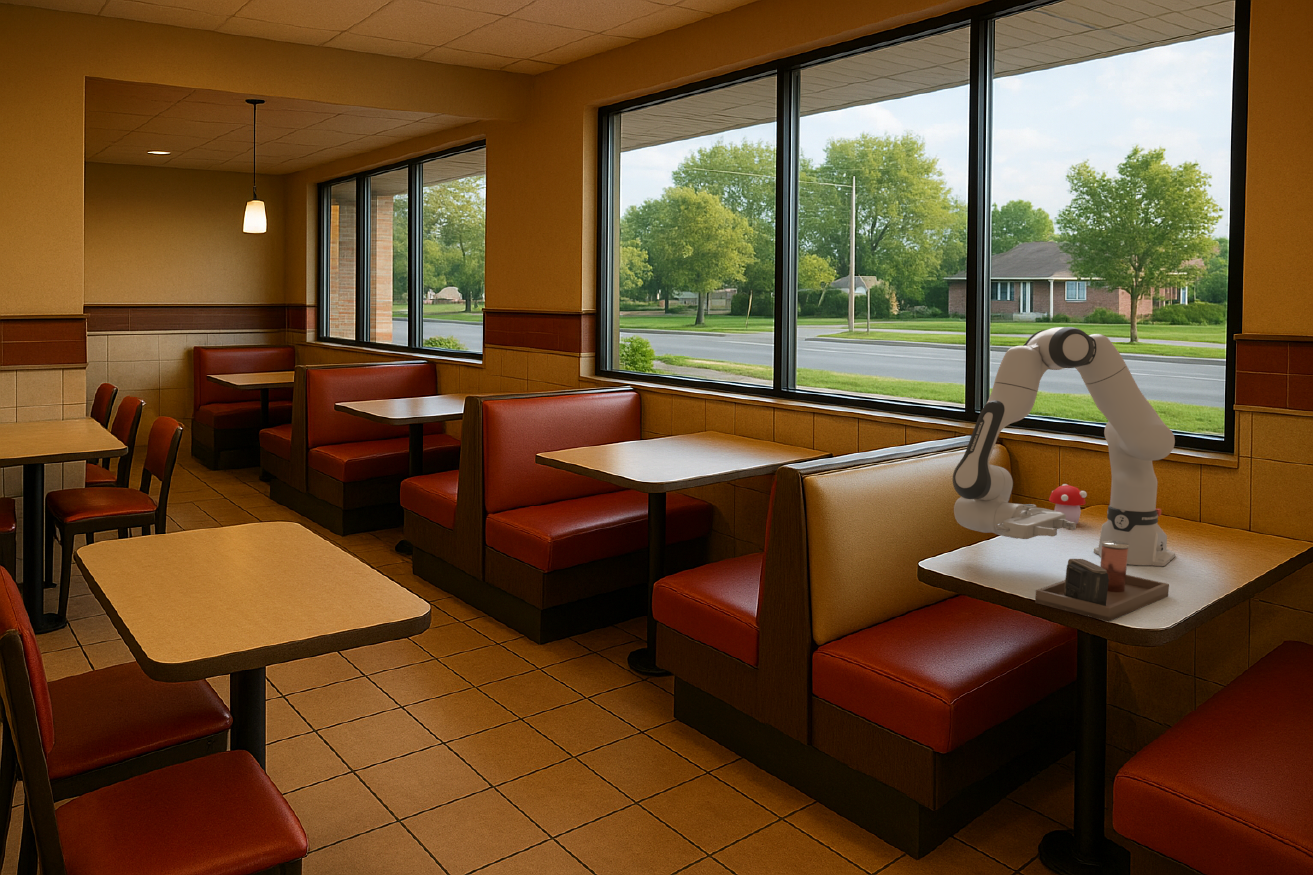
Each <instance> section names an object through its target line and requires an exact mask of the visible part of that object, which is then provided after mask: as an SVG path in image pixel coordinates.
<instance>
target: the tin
mask: <svg viewBox="0 0 1313 875" xmlns="http://www.w3.org/2000/svg"><path fill="white" fill-rule="evenodd" d="M1128 548H1129V544H1127V543H1124V542H1119V541H1102V553H1101V557H1100V565H1099V566H1100V567H1102V568H1103V569H1105V570H1107V574H1108V579H1109V582H1108V590H1107V591H1108V592H1124V591H1125V580H1126V575H1127V567H1128V566H1127V565H1128V564H1127V555H1128Z"/></svg>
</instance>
